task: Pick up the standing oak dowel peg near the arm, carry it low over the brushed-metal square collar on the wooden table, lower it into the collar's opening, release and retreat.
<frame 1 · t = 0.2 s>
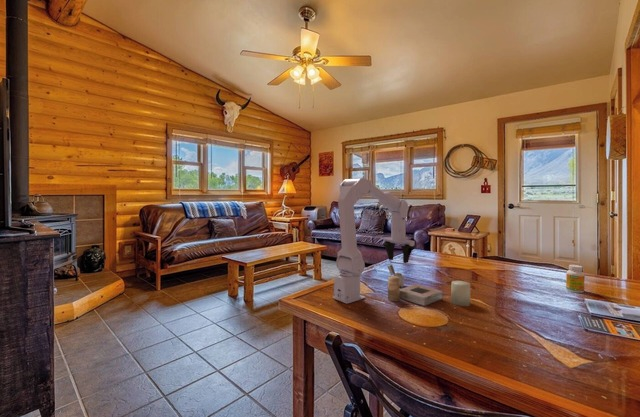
hand: (398, 261, 128), 10 cm above the table, fingers open, 7 cm apart
oak peg: (393, 299, 111), on the table
supplement bottle: (574, 291, 118), on the table
pale green rounded block: (460, 303, 107), on the table
lighter: (395, 285, 129), on the table
metal collar socket: (419, 298, 112), on the table
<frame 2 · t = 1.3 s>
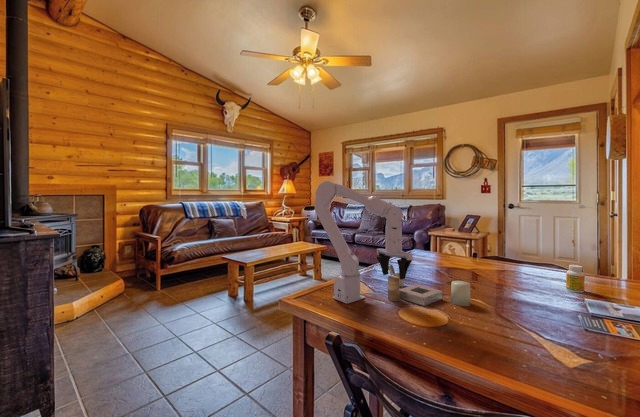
hand: (393, 276, 111), 8 cm above the table, fingers open, 7 cm apart
nothing on the table moved.
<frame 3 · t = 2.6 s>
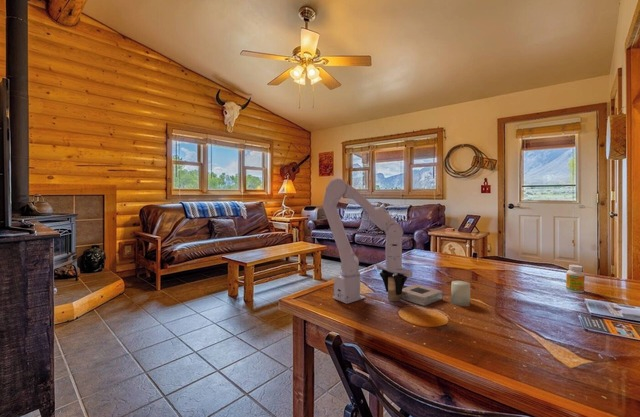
hand: (393, 292, 111), 2 cm above the table, fingers closed on oak peg, 4 cm apart
oak peg: (393, 299, 111), on the table, touching gripper
everything else where it was.
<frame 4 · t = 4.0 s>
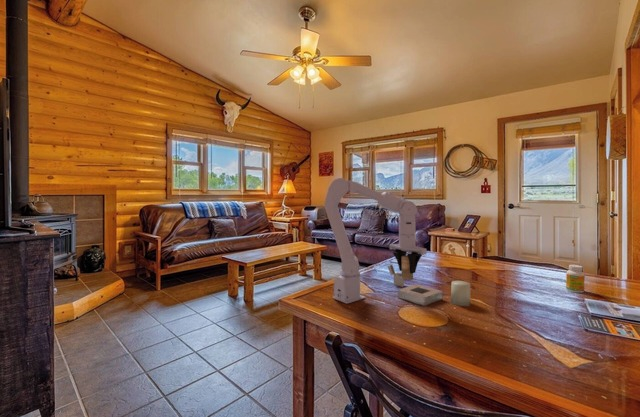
hand: (407, 271, 111), 10 cm above the table, fingers closed on oak peg, 4 cm apart
oak peg: (407, 278, 111), point 8 cm above the table, touching gripper
everything else where it was.
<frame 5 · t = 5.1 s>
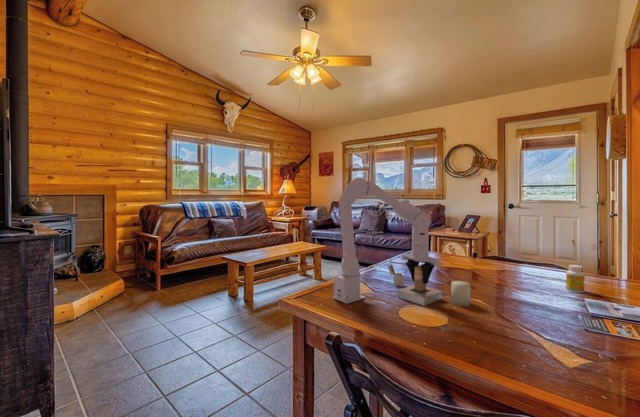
hand: (420, 281, 111), 6 cm above the table, fingers closed on oak peg, 4 cm apart
oak peg: (420, 288, 111), point 4 cm above the table, touching gripper
everything else where it was.
when the fingers open (4 cm above the table, at t = 5.9 s): oak peg drops 1 cm, resting on metal collar socket.
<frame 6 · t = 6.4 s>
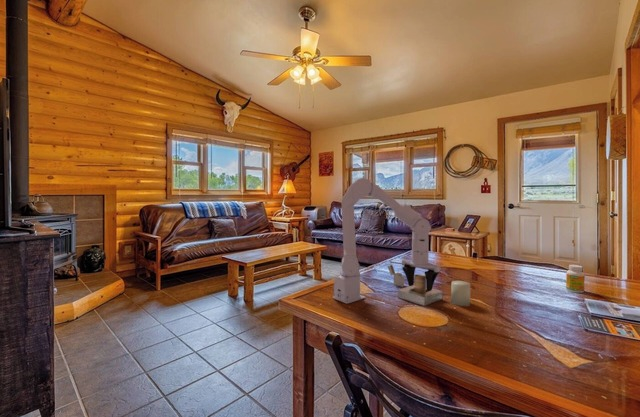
hand: (419, 287, 111), 4 cm above the table, fingers open, 7 cm apart
oak peg: (419, 297, 112), resting on metal collar socket
everything else where it was.
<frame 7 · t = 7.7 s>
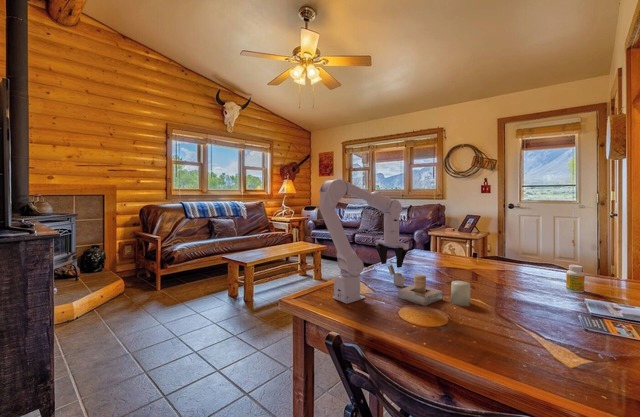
hand: (391, 265, 119), 10 cm above the table, fingers open, 7 cm apart
nothing on the table moved.
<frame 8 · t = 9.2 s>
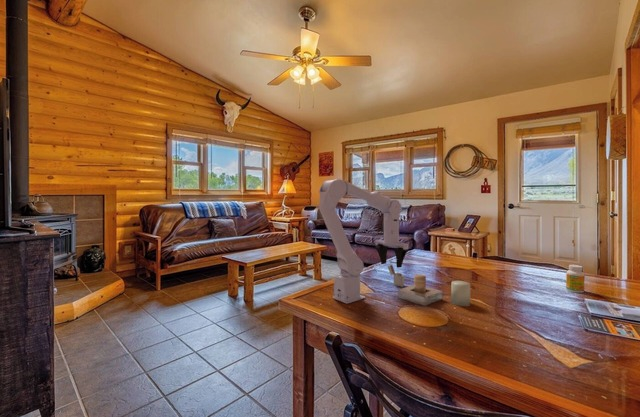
hand: (391, 265, 119), 10 cm above the table, fingers open, 7 cm apart
nothing on the table moved.
at the end: oak peg 0.0 cm from the metal collar socket (horizontally); oak peg resting on metal collar socket; oak peg tilted 0° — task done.
